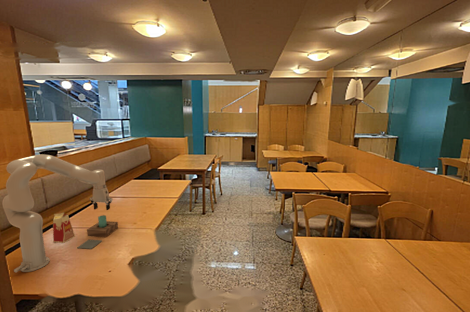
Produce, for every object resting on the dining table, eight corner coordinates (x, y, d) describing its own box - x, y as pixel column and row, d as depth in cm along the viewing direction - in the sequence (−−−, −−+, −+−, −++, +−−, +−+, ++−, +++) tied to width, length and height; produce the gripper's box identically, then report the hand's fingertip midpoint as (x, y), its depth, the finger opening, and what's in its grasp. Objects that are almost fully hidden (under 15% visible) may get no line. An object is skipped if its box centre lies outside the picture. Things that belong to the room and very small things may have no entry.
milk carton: (75, 236, 157) (72, 209, 154) (64, 243, 148) (60, 215, 145) (63, 235, 158) (60, 209, 155) (51, 242, 149) (48, 214, 146)
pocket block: (105, 237, 156) (105, 230, 156) (87, 236, 158) (86, 229, 157) (118, 227, 170) (117, 221, 169) (101, 226, 172) (100, 220, 171)
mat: (91, 249, 142) (91, 248, 141) (77, 248, 143) (77, 247, 142) (102, 241, 151) (102, 240, 151) (88, 240, 152) (88, 239, 152)
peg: (104, 233, 161) (102, 218, 159) (97, 233, 162) (96, 217, 160) (108, 230, 166) (107, 215, 164) (102, 230, 167) (101, 215, 165)
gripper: (114, 185, 161) (116, 207, 164) (92, 184, 163) (94, 206, 166) (107, 188, 154) (109, 211, 157) (84, 188, 156) (87, 210, 159)
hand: (102, 209), depth 162 cm, fingers open, 9 cm apart
